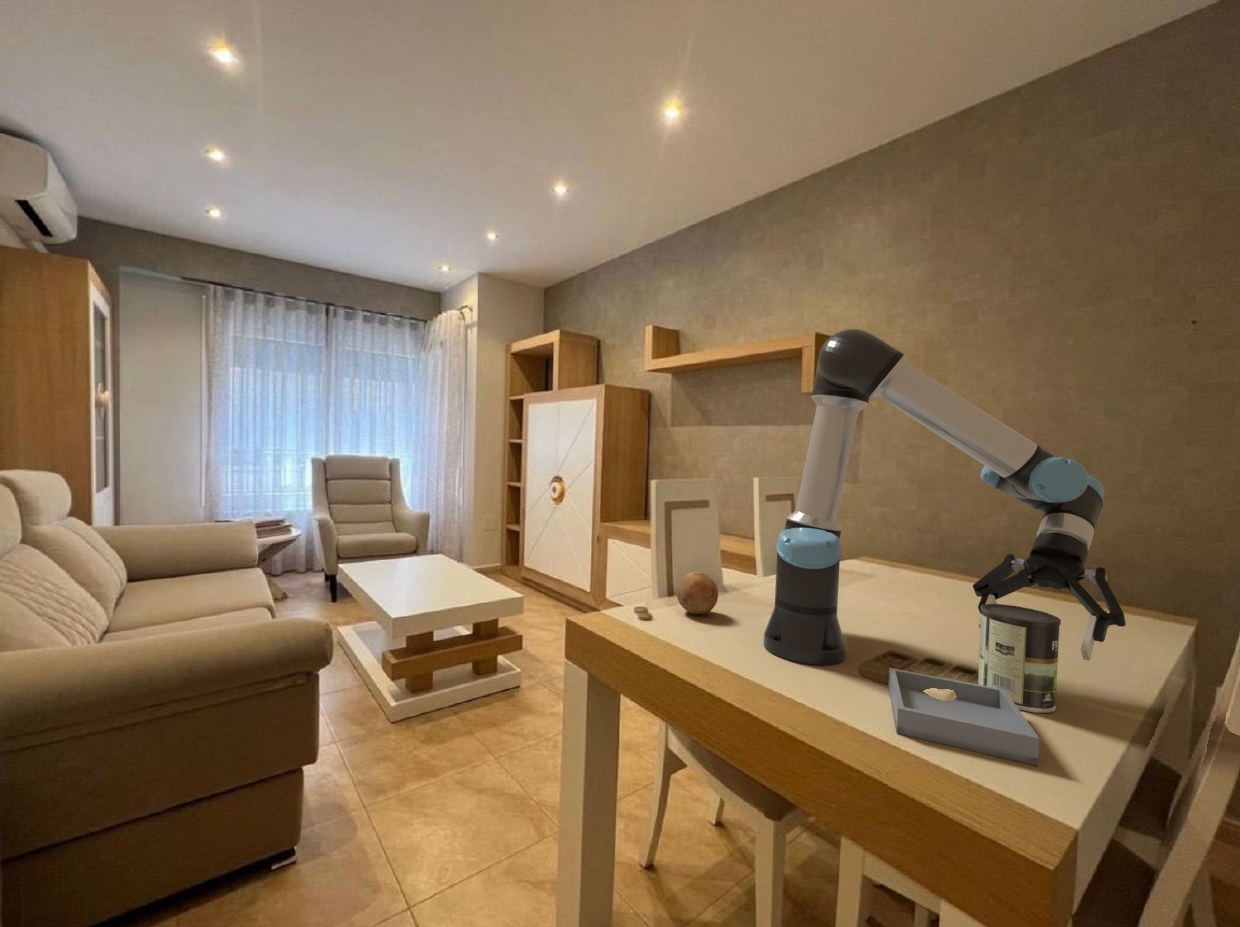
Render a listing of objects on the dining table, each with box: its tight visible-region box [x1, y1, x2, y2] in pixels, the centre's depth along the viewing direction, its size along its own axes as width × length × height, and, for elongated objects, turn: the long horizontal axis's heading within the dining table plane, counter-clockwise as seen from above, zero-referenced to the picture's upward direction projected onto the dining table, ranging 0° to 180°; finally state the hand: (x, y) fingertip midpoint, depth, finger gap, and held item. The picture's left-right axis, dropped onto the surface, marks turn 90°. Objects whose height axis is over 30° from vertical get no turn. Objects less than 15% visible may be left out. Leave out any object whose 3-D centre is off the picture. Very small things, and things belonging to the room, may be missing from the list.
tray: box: [887, 667, 1040, 767], centre depth 74 cm, size 16×16×4 cm
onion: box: [676, 571, 719, 615], centre depth 121 cm, size 10×10×10 cm
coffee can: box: [977, 603, 1062, 714], centre depth 83 cm, size 10×10×14 cm
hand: (1030, 641), depth 84 cm, fingers open, 13 cm apart
